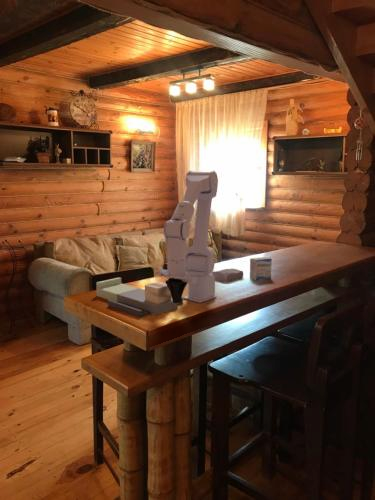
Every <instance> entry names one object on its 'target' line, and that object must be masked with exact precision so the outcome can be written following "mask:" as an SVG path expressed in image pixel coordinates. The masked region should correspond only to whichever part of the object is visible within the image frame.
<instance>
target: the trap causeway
mask: <svg viewBox="0 0 375 500" xmlns="http://www.w3.org/2000/svg"><path fill="white" fill-rule="evenodd" d="M95 285H96V296H97V297H98V298H101V299H104V300H107V307H110V308H111V309H115V310H117V311H120V312H123V313H126V314H129V315H132V316H135V317H138V318H143V317H145V316H149V315H153V316H157V315H162V314H164V313H166V312H170V311H173V310H176V309H178V308H179V306H180V305H183V303H184V298H183V297H182V298H181V302H179V303H173V300H172V296H171V300H169V301H166V302H163V303H159V304H156V303H153V302H150V301H146V300H145V289H143V288H140V287H137V286H132V285H129V284H126V283H122V277H114V278H111V279H106V280H102V281H97V282H96V284H95Z"/></svg>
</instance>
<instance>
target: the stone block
mask: <svg viewBox="0 0 375 500" xmlns="http://www.w3.org/2000/svg"><path fill="white" fill-rule="evenodd" d="M212 274H213V275H214V278H215V281H218V282H223V283H229V282H233V281H237V280H241V279H242V278H244V271H243V270H240V269H238V268H224V269H221V270H216V271H213V272H212Z"/></svg>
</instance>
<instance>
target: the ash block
mask: <svg viewBox="0 0 375 500" xmlns="http://www.w3.org/2000/svg"><path fill="white" fill-rule="evenodd" d="M144 290H145V300H146V301H150V302H153V303H156V304H159V303H163V302H166V301H169V300H171V293H170V290H169V288H168V286H167V284H166V282H161V281H155V282H151V283H148V284H144Z"/></svg>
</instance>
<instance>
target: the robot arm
mask: <svg viewBox="0 0 375 500" xmlns="http://www.w3.org/2000/svg"><path fill="white" fill-rule="evenodd" d="M184 181H185V186H186V190H185V194H184V197H183V199H182V201H180V202H178V203H177V206H176V207H175V210H174V212H173V214H172V215H171V218H170V219H169V220H168V221H165V223H164V226H163V236H164V239H165V244H166V247H167V248H166V249H167V251H166V252H167V253H166V257H167V265H166V266H167V267H166V268H167V269H163V268H162V269H158V270H157V277H164V278H168V279H167V280H165V283H166V284H167V286H168V288H169V290H170V293H171V296H172V300H173V303H179V302H181V298H183V300H184V299H185V300H187V301H188V300H189V301H191V302H194V303H195V302H196V303H199V304H200V303H203V302H206V301H209V300H212V299H215V298H217V295H216V280H215V278H214V275H213V274H212V272H214V268H215V252H214V251H213V250H212V249H211V248H210V247H209V246H208V238H209V230H210V228H209V227H210V221H211V220H210V219H211V211H212V210H211V209H212V202H213V199H214V198H216V197H217V194H218V193H217V192H218V187H219V185H218V184H219V177H218V173H217V172H216V171H215V170H201V171H200V170H188V171H187V173H186V175H185V180H184ZM196 201H197V202H196ZM195 203H196V209H195V206H194V205H195ZM195 210H196V211H195ZM195 212H196V213H195ZM194 214H195V220H194V221H195V223H194V230H193V231H194V232H193V241H192V243H193V244H192V245H191V246H189V247H188V248H187V240H188V238H189V236H190V229H191V221H192V218H193V216H194ZM187 286H188V287H187ZM186 287H187V289H188V290H187V291H188V293H187V295H185V296H183V293H184V291H185V289H186Z"/></svg>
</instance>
